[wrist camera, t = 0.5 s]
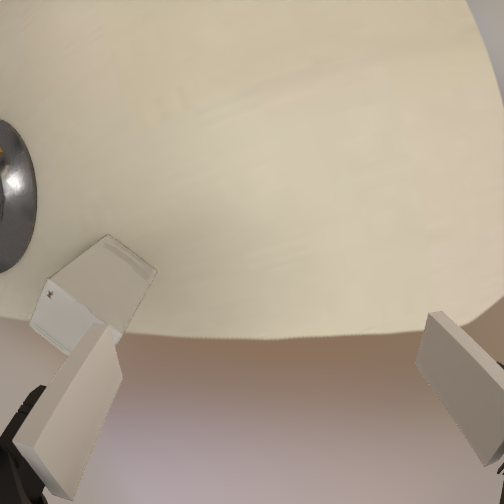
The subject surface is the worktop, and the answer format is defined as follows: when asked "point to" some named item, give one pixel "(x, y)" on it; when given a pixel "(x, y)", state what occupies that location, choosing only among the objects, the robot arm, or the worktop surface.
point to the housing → (15, 197)
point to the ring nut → (1, 193)
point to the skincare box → (92, 294)
